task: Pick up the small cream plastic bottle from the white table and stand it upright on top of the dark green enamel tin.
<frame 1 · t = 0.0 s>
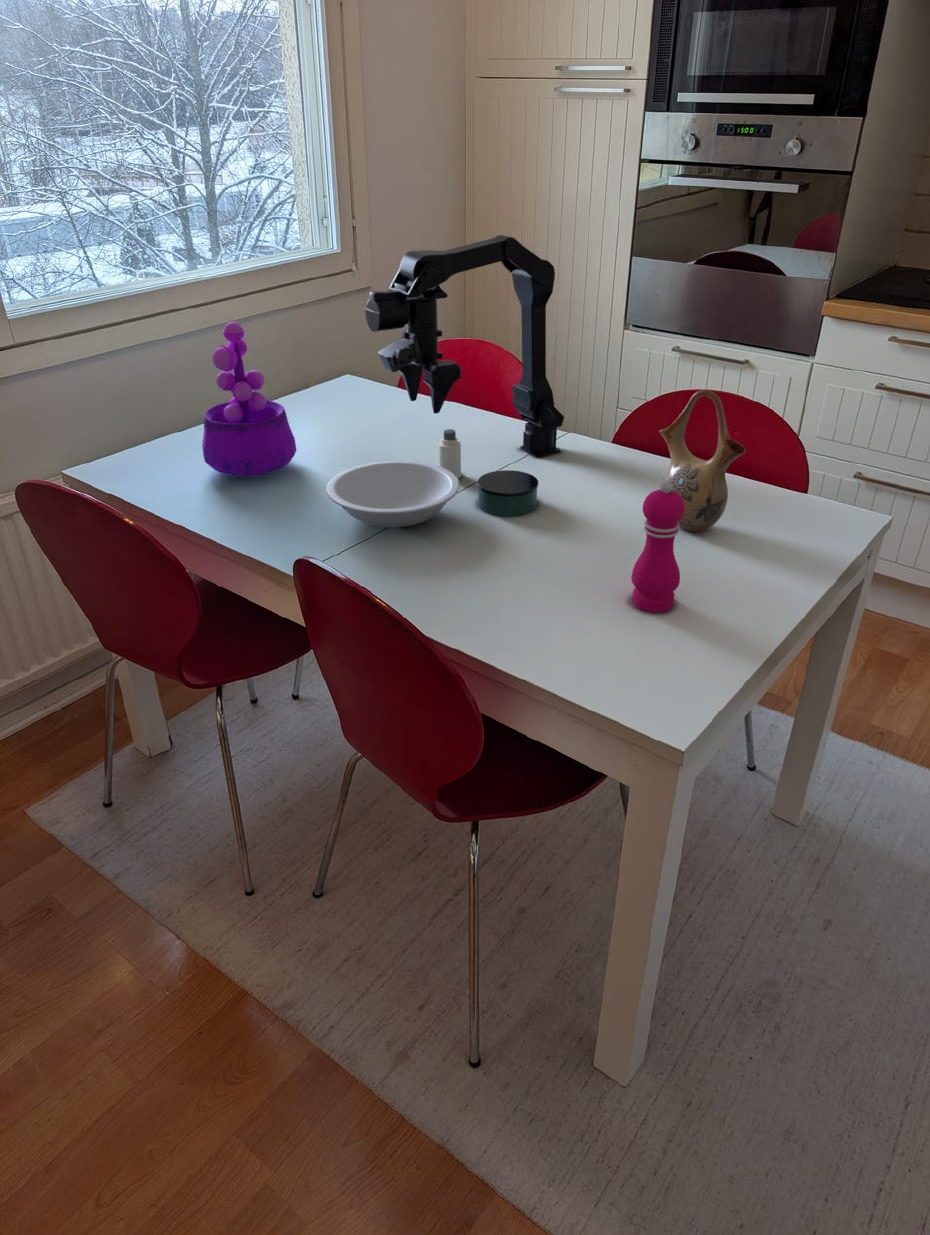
hand: (424, 406, 174), 15 cm above the table, tool pointing down, fingers open, 9 cm apart
pepper mill: (652, 603, 137), on the table
bottle: (450, 476, 182), on the table
decorative plant: (252, 470, 185), on the table
ceramic vessel: (689, 527, 160), on the table
soup bowl: (395, 518, 165), on the table
enamel tin: (507, 504, 169), on the table
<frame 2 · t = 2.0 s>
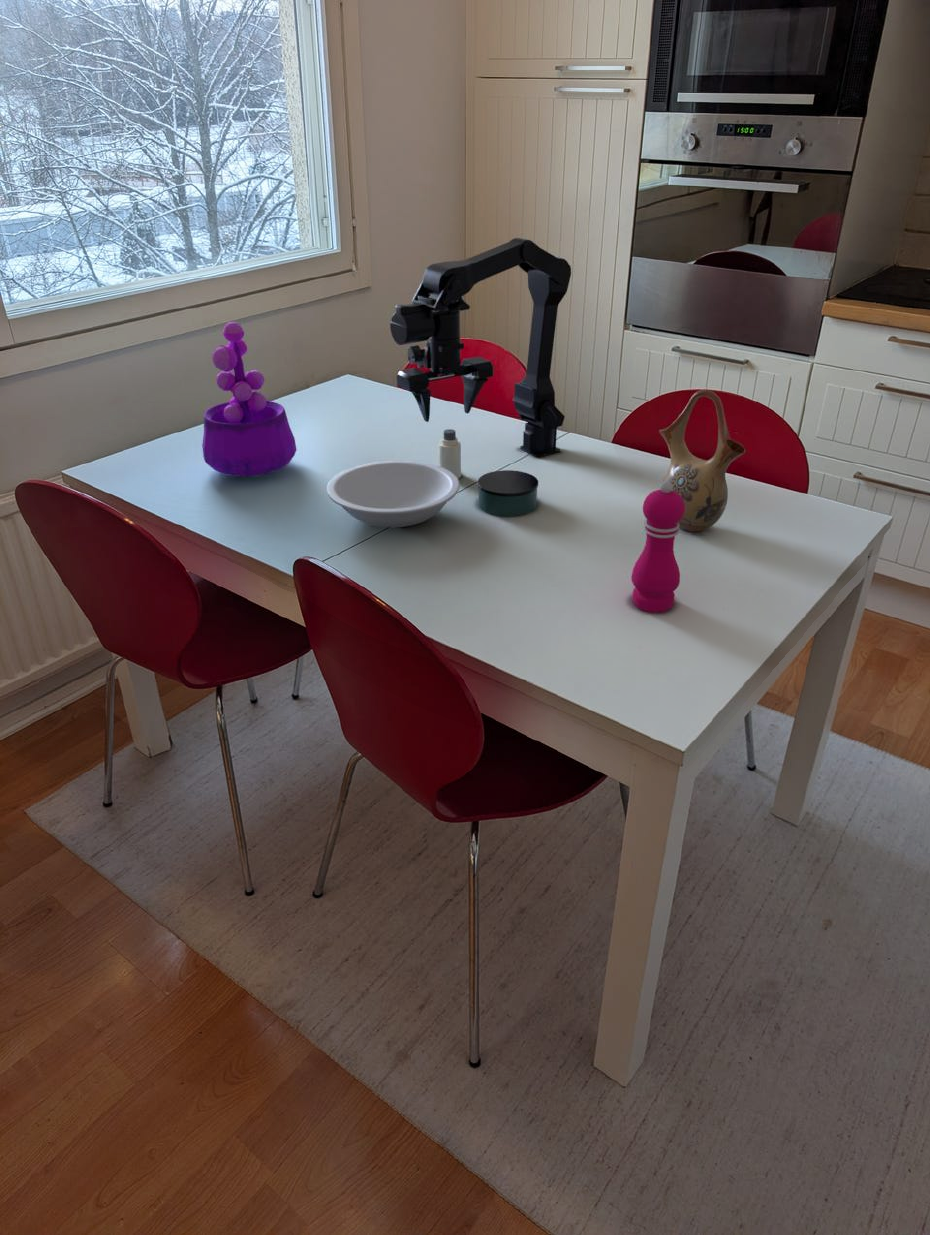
hand: (446, 417, 175), 12 cm above the table, tool pointing down, fingers open, 9 cm apart
nothing on the table moved.
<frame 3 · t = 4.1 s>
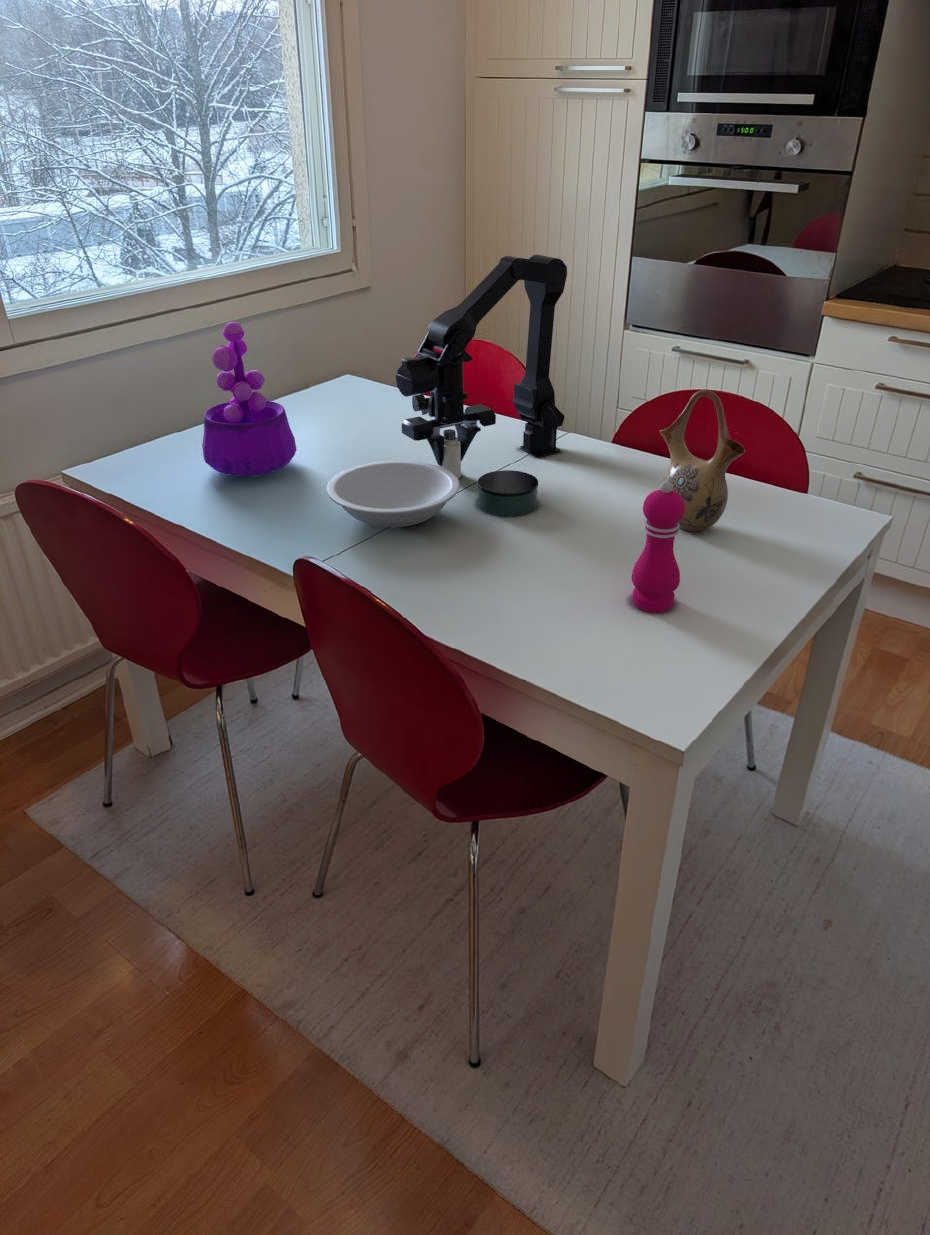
hand: (450, 463, 180), 3 cm above the table, tool pointing down, fingers closed on bottle, 4 cm apart
bottle: (450, 476, 182), on the table, touching gripper
everything else where it was.
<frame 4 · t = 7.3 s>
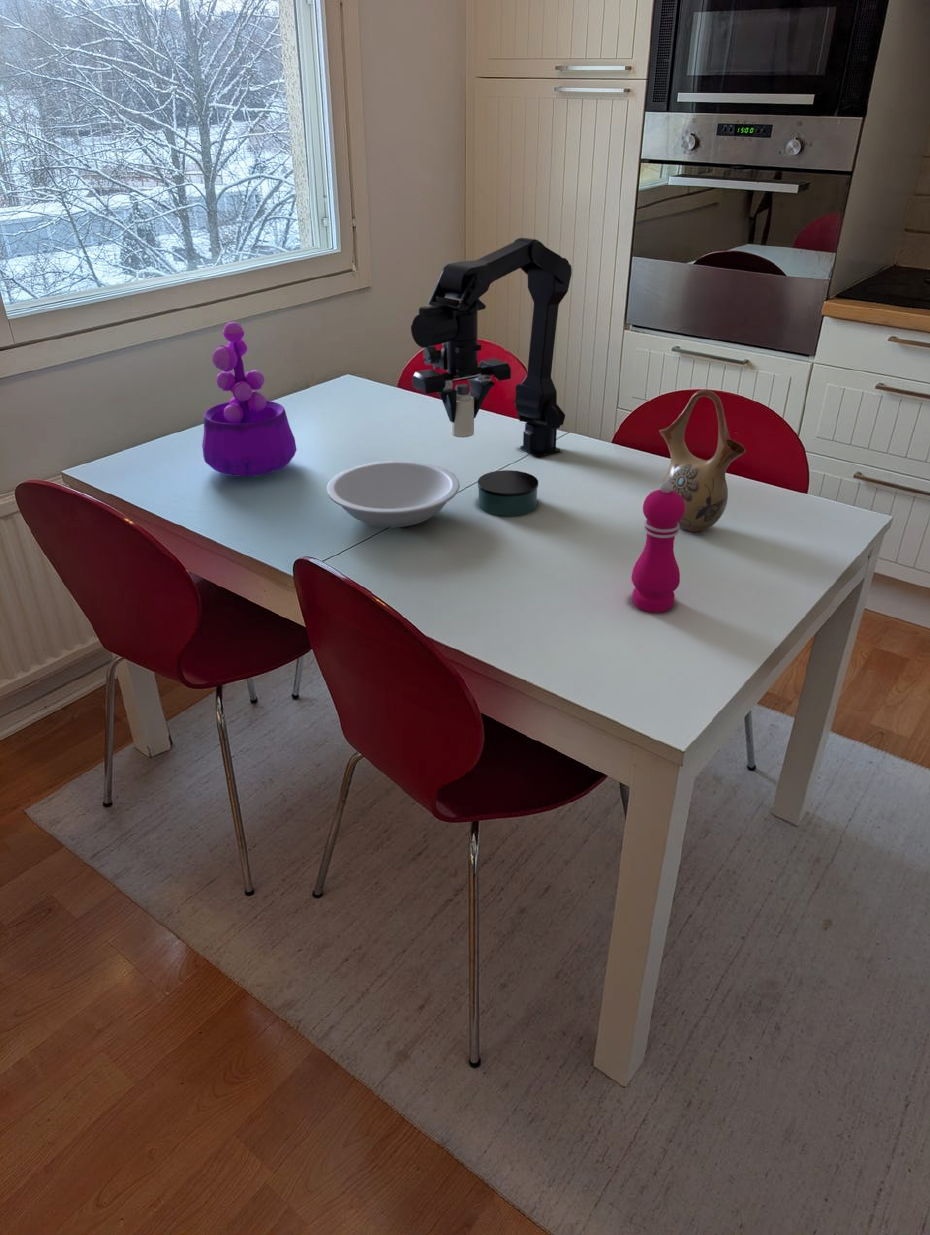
hand: (462, 419, 172), 13 cm above the table, tool pointing down, fingers closed on bottle, 4 cm apart
bottle: (462, 433, 173), point 10 cm above the table, touching gripper
everything else where it was.
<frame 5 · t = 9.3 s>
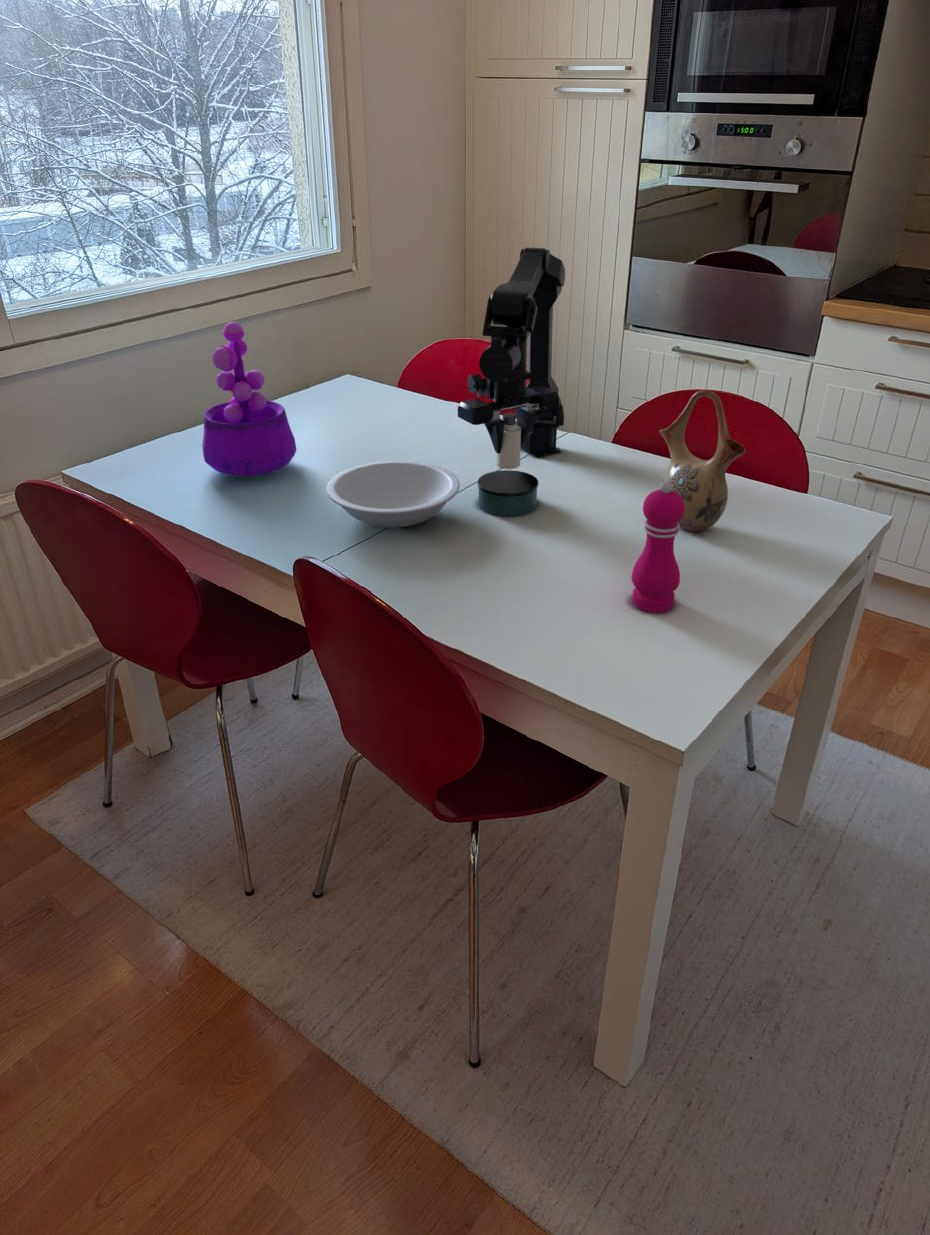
hand: (508, 450, 164), 11 cm above the table, tool pointing down, fingers closed on bottle, 4 cm apart
bottle: (508, 464, 165), point 8 cm above the table, touching gripper
everything else where it was.
when the fingers open (7 cm above the table, at t = 10.7 s): bottle stays where it is, resting on enamel tin.
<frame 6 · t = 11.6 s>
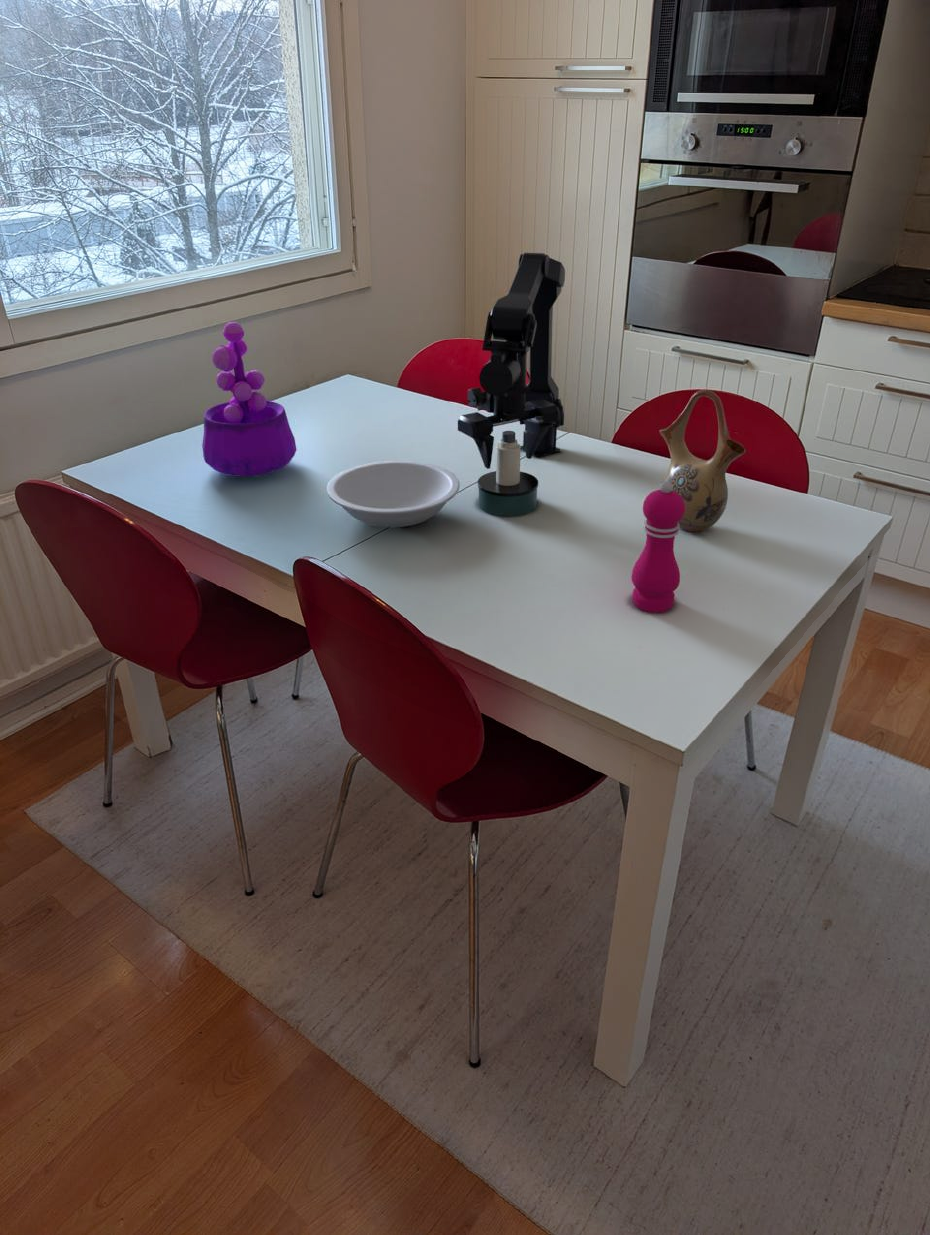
hand: (508, 463, 165), 8 cm above the table, tool pointing down, fingers open, 9 cm apart
bottle: (507, 481, 167), point 5 cm above the table, touching enamel tin
enamel tin: (507, 504, 169), on the table, touching bottle
everything else where it was.
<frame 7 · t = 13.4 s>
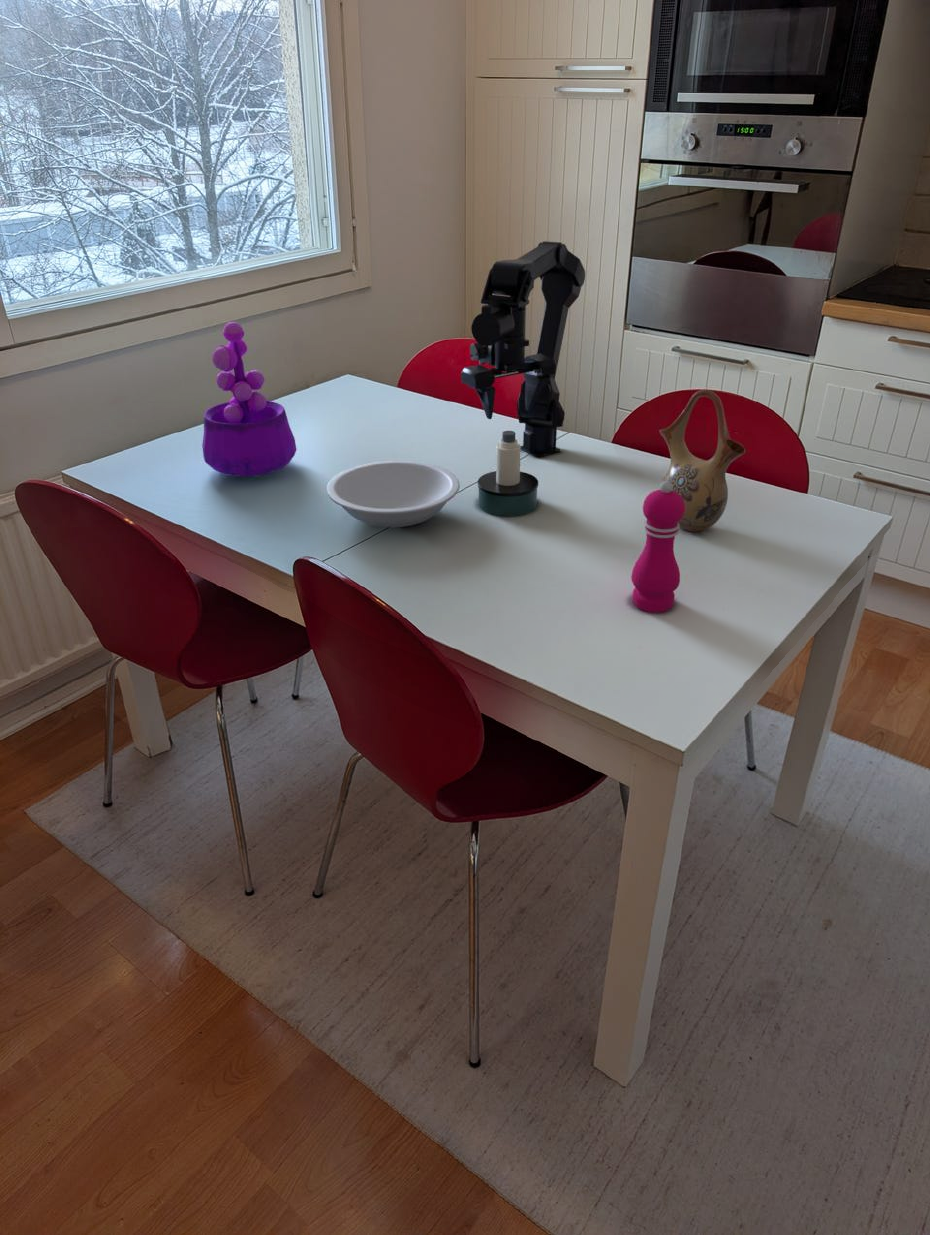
hand: (508, 414, 175), 13 cm above the table, tool pointing down, fingers open, 9 cm apart
nothing on the table moved.
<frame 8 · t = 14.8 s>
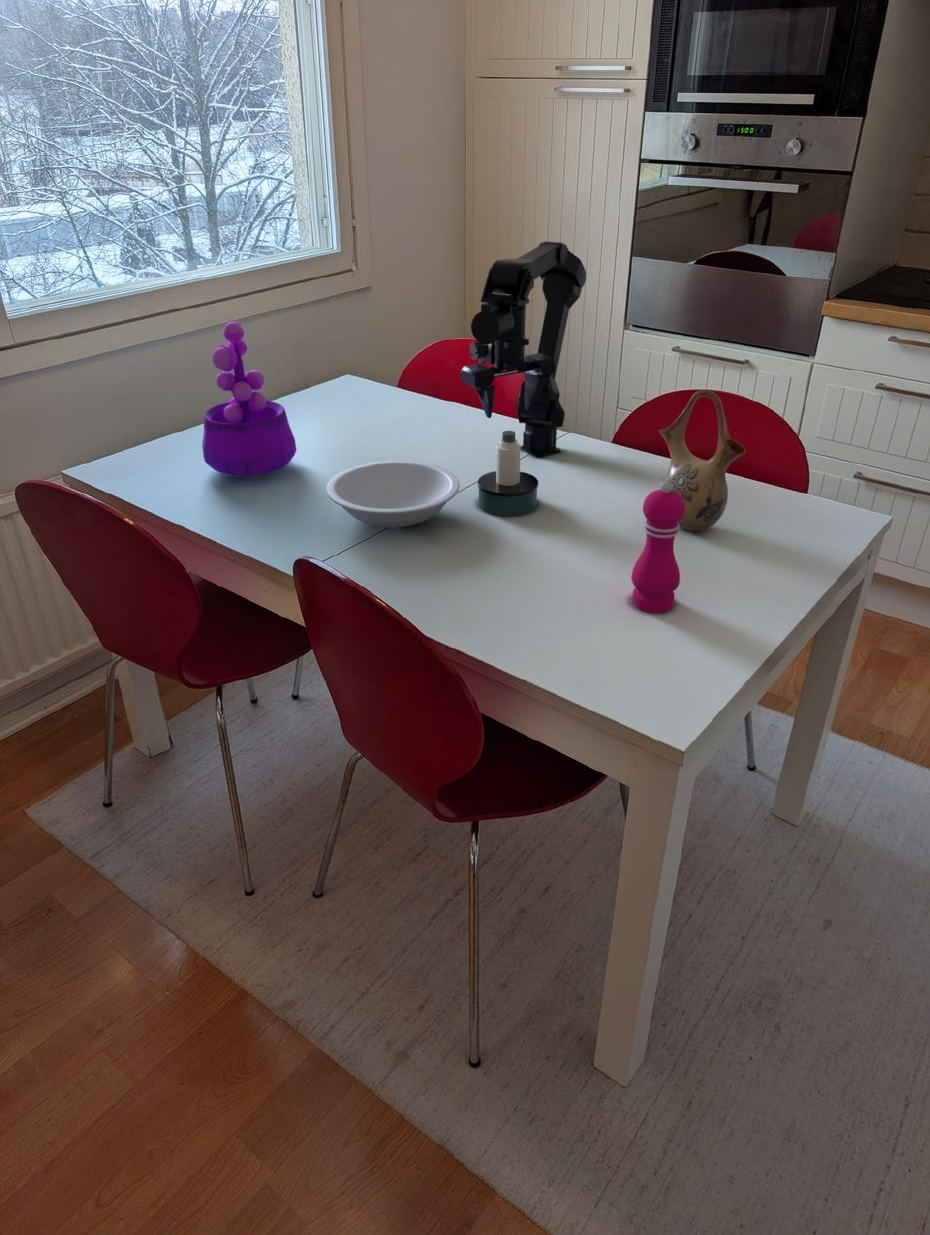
hand: (508, 413, 175), 13 cm above the table, tool pointing down, fingers open, 9 cm apart
nothing on the table moved.
at the end: bottle 0.1 cm off-centre on the enamel tin, point 4.6 cm above the enamel tin's base; bottle tilted 0°; the gripper is holding nothing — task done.
